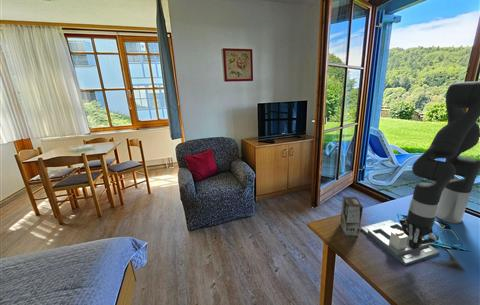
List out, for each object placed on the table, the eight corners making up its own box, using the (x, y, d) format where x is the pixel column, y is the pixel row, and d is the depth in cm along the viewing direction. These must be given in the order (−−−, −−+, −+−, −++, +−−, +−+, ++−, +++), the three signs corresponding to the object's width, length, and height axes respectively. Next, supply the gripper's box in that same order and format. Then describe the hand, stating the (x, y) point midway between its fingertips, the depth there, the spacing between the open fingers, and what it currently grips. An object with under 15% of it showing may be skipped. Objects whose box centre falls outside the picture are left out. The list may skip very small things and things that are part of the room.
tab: (395, 242, 89) (399, 228, 86) (405, 249, 85) (408, 234, 83) (388, 244, 88) (391, 230, 85) (397, 251, 84) (400, 236, 82)
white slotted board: (389, 221, 104) (390, 217, 103) (439, 254, 83) (440, 249, 83) (360, 229, 100) (361, 225, 99) (404, 265, 80) (406, 260, 79)
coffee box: (359, 236, 96) (363, 207, 91) (344, 235, 97) (348, 206, 92) (353, 223, 104) (356, 196, 99) (339, 222, 106) (342, 196, 101)
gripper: (451, 219, 69) (439, 258, 74) (411, 199, 81) (403, 234, 87) (435, 223, 67) (423, 263, 73) (397, 203, 79) (389, 238, 85)
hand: (412, 247), depth 80 cm, fingers closed
